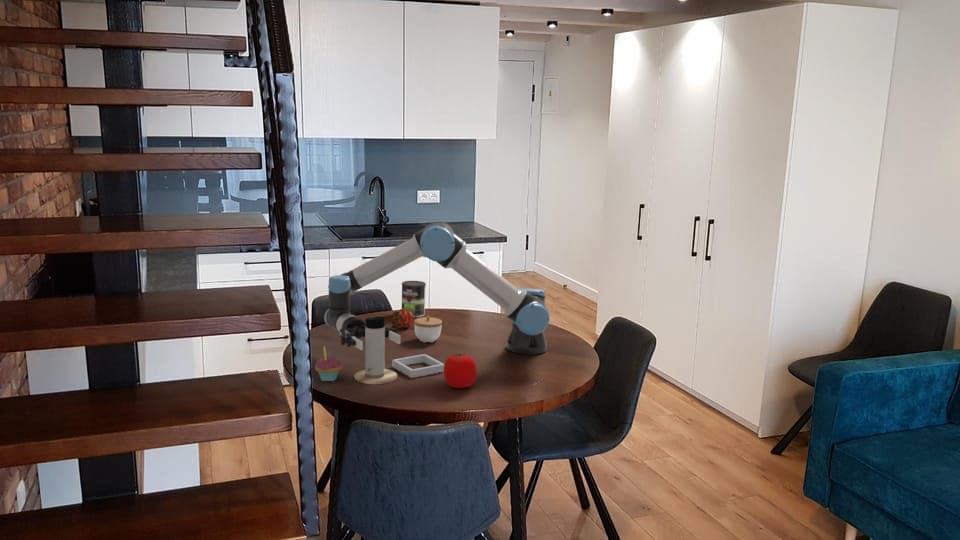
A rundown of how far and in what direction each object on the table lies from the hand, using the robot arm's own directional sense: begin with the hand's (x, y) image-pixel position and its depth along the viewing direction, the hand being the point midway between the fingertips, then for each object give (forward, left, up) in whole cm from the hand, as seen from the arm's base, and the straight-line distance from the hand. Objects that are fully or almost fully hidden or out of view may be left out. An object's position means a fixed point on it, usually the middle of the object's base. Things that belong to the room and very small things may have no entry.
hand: (381, 342), depth 236 cm
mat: (+3, -1, -12) cm, 13 cm away
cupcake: (+14, +9, -13) cm, 21 cm away
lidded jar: (+12, -46, -13) cm, 49 cm away
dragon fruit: (+30, -55, -13) cm, 64 cm away
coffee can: (+38, -74, -13) cm, 84 cm away
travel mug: (+3, -1, -12) cm, 13 cm away
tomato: (-24, -10, -13) cm, 29 cm away
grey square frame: (-4, -16, -12) cm, 21 cm away
